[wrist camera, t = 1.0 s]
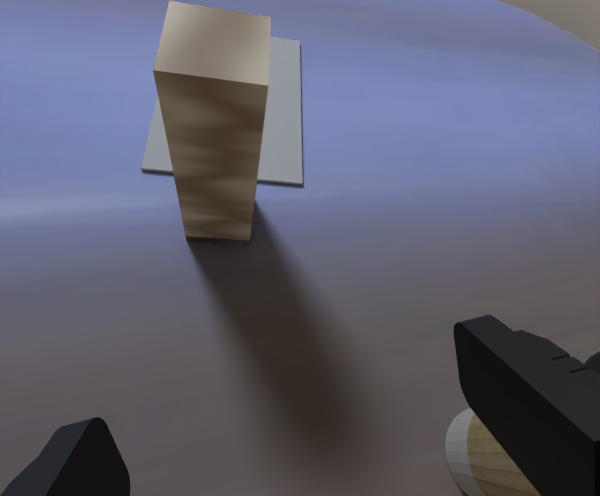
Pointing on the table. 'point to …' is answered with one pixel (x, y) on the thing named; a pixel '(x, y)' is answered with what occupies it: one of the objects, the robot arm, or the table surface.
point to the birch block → (214, 115)
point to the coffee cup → (487, 456)
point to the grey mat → (277, 124)
